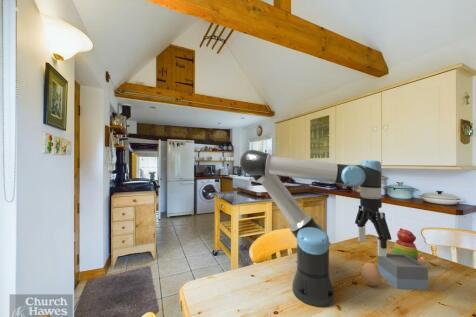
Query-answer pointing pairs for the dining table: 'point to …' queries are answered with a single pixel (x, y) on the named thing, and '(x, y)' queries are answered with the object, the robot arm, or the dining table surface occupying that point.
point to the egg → (370, 274)
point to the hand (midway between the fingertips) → (371, 248)
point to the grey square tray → (403, 271)
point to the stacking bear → (406, 244)
